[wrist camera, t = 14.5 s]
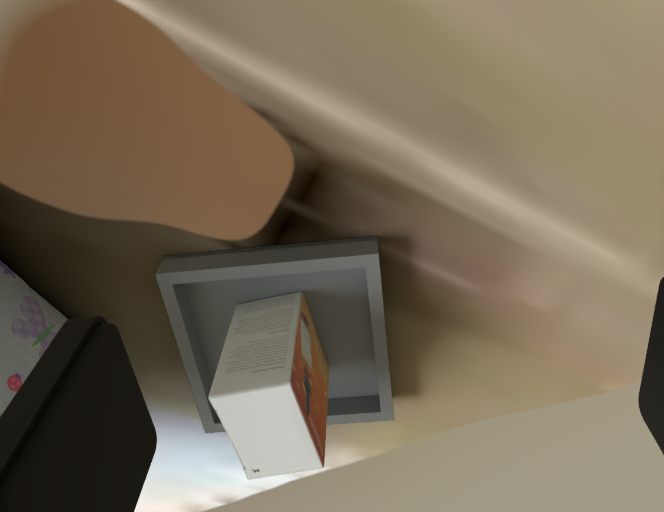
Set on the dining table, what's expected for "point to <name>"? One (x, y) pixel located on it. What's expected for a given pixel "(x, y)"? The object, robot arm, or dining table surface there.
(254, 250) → the tray
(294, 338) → the small box
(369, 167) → the dining table surface
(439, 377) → the dining table surface
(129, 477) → the robot arm
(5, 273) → the lunch bag
